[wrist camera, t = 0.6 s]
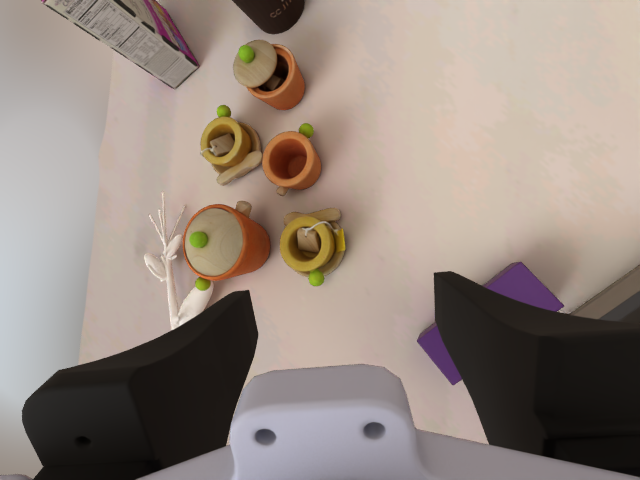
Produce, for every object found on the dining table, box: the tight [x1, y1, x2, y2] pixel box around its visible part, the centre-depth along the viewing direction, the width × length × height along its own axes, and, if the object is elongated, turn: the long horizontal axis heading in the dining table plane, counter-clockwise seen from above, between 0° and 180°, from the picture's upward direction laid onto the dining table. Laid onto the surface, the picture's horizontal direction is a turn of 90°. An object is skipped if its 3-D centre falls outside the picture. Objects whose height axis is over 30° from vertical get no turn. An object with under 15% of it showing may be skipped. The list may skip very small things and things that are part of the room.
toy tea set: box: [183, 40, 346, 291], centre depth 36 cm, size 26×16×10 cm, turn 11°
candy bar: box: [417, 262, 564, 385], centre depth 30 cm, size 4×10×4 cm, turn 130°
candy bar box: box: [41, 0, 199, 89], centre depth 39 cm, size 11×5×16 cm, turn 32°
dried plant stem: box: [144, 191, 214, 331], centre depth 34 cm, size 12×19×40 cm
